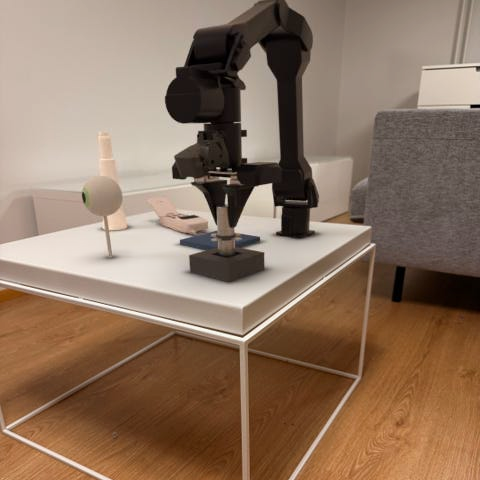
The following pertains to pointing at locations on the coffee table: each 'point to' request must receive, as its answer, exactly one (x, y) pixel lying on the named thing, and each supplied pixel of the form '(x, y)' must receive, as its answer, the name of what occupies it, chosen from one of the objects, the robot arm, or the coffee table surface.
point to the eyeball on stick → (102, 200)
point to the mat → (206, 243)
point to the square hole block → (226, 264)
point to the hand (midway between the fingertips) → (225, 226)
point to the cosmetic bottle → (109, 170)
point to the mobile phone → (176, 217)
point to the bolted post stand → (225, 233)
